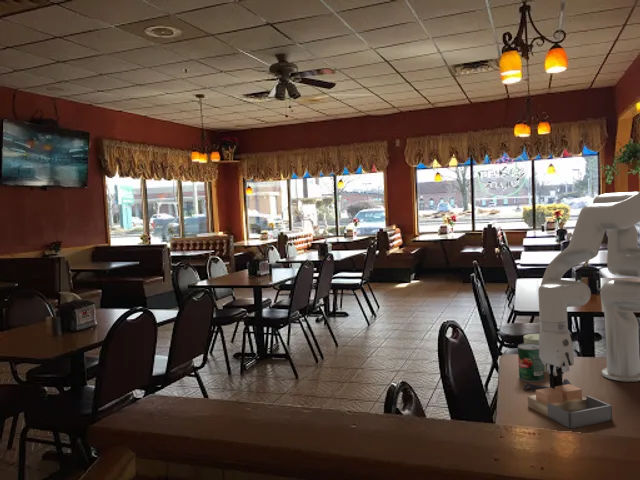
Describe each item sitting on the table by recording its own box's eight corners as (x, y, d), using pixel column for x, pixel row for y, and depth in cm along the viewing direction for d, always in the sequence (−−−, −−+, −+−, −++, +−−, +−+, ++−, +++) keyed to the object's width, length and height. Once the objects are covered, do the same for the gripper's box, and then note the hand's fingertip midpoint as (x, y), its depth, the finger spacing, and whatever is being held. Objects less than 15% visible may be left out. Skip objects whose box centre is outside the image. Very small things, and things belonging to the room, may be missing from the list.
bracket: (520, 384, 180) (520, 376, 180) (568, 383, 178) (568, 375, 177) (528, 400, 166) (528, 391, 166) (581, 400, 163) (580, 391, 163)
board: (565, 399, 163) (565, 389, 163) (588, 409, 154) (587, 399, 154) (528, 406, 159) (527, 396, 159) (548, 417, 151) (548, 406, 151)
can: (519, 367, 196) (517, 334, 195) (540, 363, 199) (539, 331, 198) (536, 374, 187) (535, 339, 186) (558, 370, 190) (557, 336, 189)
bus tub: (588, 409, 154) (588, 395, 154) (612, 420, 146) (611, 405, 146) (548, 417, 151) (547, 403, 150) (569, 428, 142) (569, 413, 142)
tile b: (550, 395, 158) (550, 387, 158) (562, 401, 154) (562, 392, 153) (536, 398, 157) (535, 390, 157) (547, 404, 152) (547, 395, 152)
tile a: (569, 392, 160) (569, 383, 160) (582, 397, 155) (581, 389, 155) (555, 395, 159) (554, 386, 159) (567, 400, 154) (567, 391, 154)
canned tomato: (514, 379, 184) (513, 347, 183) (525, 373, 189) (523, 342, 188) (538, 383, 178) (536, 350, 177) (548, 377, 183) (546, 345, 183)
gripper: (582, 329, 155) (585, 393, 156) (547, 320, 169) (550, 378, 170) (560, 332, 153) (563, 397, 154) (526, 323, 167) (529, 382, 168)
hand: (556, 387), depth 162 cm, fingers closed
